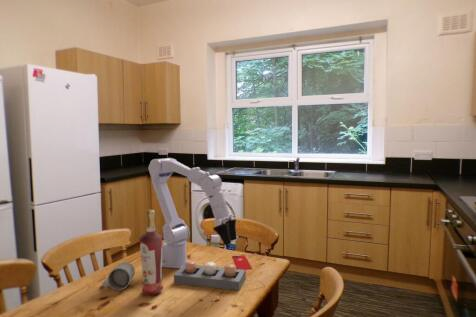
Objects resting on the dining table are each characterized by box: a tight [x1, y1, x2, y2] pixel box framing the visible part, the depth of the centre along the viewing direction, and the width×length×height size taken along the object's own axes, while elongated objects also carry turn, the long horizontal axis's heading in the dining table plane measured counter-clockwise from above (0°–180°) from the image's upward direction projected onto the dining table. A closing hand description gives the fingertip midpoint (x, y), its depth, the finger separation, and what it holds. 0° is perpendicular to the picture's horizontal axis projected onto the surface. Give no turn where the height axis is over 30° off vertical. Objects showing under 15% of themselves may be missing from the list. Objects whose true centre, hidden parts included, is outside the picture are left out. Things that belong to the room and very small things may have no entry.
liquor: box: [139, 209, 164, 296], centre depth 110 cm, size 7×7×28 cm
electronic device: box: [231, 255, 253, 271], centre depth 136 cm, size 6×1×15 cm
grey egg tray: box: [173, 264, 247, 291], centre depth 119 cm, size 24×10×3 cm, turn 76°
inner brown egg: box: [185, 260, 197, 273], centre depth 121 cm, size 4×4×3 cm
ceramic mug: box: [102, 261, 136, 291], centre depth 116 cm, size 11×8×8 cm
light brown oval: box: [223, 263, 237, 277], centre depth 117 cm, size 4×4×3 cm
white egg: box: [204, 261, 217, 275], centre depth 119 cm, size 4×4×3 cm
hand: (231, 242), depth 119 cm, fingers open, 7 cm apart
